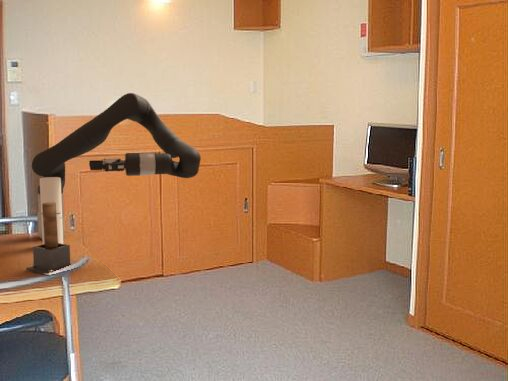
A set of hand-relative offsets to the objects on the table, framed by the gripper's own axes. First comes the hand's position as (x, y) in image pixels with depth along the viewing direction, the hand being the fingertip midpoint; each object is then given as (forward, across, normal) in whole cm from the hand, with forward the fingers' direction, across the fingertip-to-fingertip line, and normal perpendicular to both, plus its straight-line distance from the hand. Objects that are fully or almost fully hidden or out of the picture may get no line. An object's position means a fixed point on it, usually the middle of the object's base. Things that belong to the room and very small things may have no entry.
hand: (89, 165), depth 197 cm
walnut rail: (+12, +6, +31) cm, 34 cm away
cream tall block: (+13, -24, +32) cm, 42 cm away
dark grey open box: (+12, +6, +32) cm, 35 cm away
